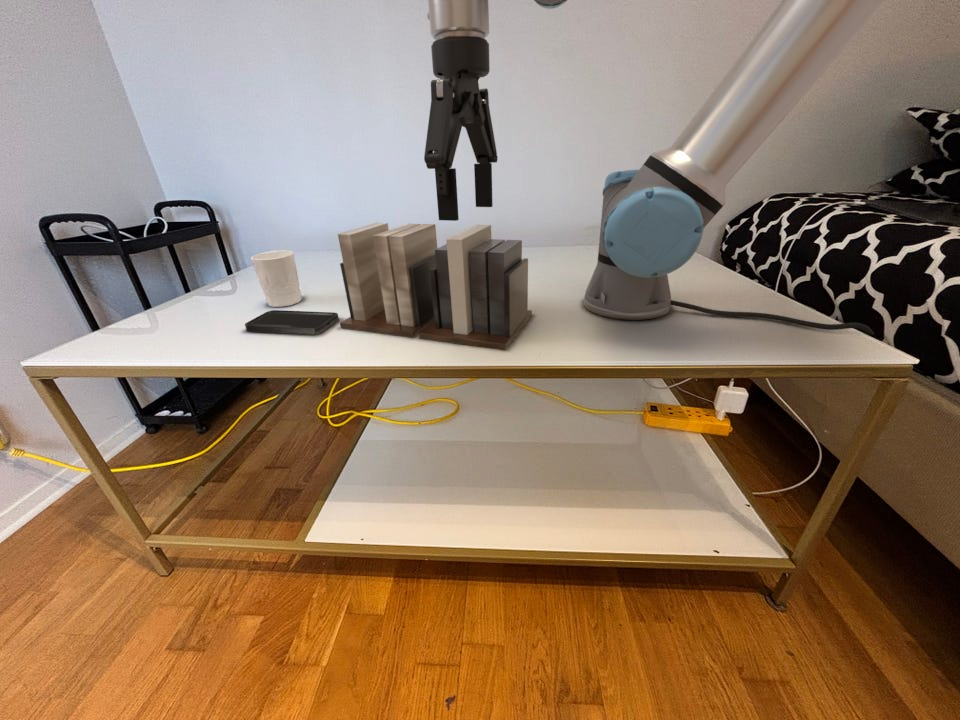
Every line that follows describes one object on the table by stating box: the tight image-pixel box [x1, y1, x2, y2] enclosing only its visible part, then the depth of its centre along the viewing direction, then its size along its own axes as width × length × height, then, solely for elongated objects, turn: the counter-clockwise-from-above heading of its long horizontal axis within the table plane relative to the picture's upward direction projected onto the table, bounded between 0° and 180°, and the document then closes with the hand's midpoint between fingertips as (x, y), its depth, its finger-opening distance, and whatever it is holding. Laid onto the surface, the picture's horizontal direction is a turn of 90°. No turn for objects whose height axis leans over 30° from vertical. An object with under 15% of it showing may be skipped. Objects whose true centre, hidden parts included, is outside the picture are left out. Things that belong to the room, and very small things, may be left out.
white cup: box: [250, 250, 303, 308], centre depth 85 cm, size 8×8×10 cm
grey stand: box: [418, 238, 533, 351], centre depth 68 cm, size 15×15×14 cm
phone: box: [244, 309, 340, 336], centre depth 75 cm, size 8×1×15 cm
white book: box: [445, 224, 492, 335], centre depth 68 cm, size 2×12×15 cm, turn 158°
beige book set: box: [337, 222, 438, 339], centre depth 73 cm, size 15×15×16 cm
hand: (468, 213), depth 63 cm, fingers open, 13 cm apart
